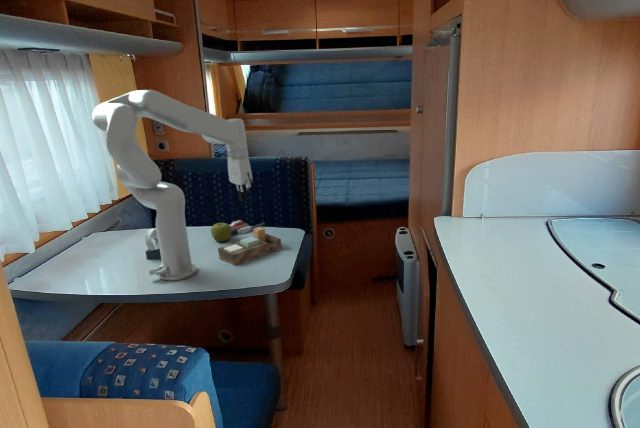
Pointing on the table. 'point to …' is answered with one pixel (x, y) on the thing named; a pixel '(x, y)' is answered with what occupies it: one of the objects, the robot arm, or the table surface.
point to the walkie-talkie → (241, 227)
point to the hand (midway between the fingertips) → (244, 200)
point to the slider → (259, 233)
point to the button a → (233, 248)
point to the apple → (221, 232)
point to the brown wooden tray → (250, 250)
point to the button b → (249, 241)
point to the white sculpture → (152, 250)
